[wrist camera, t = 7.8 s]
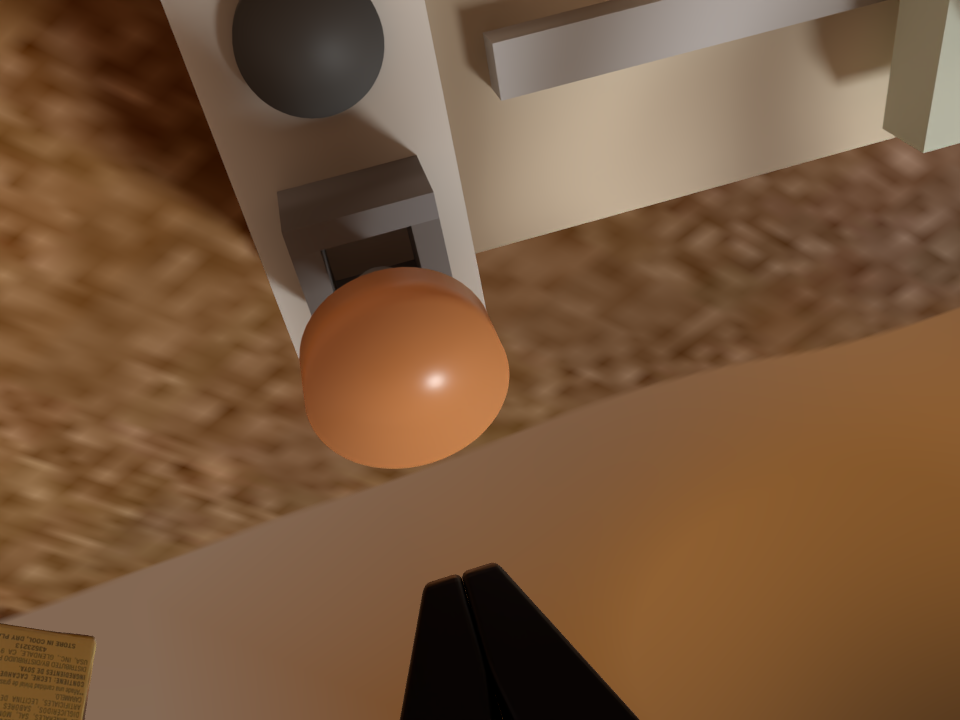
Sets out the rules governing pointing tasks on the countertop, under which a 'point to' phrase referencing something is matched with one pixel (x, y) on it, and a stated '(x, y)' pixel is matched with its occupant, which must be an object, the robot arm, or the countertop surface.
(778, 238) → the countertop surface
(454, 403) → the button
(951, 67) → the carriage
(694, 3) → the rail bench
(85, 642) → the candy box
